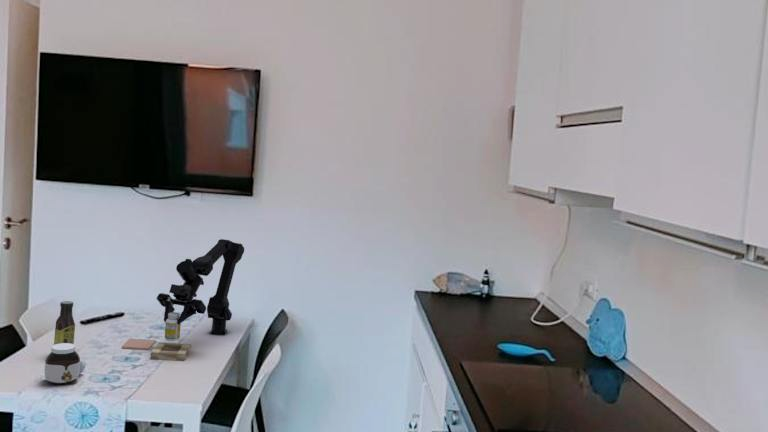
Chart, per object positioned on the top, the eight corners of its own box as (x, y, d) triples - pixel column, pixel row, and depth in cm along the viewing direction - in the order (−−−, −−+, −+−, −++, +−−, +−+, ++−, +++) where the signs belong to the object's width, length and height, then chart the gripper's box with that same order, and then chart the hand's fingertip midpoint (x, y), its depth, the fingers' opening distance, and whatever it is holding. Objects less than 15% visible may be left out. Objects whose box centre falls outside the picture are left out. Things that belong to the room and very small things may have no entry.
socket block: (158, 348, 240) (158, 342, 240) (190, 350, 242) (190, 344, 241) (150, 359, 228) (150, 352, 228) (184, 360, 230) (184, 354, 230)
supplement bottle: (169, 341, 231) (171, 316, 230) (161, 338, 234) (163, 313, 233) (182, 339, 235) (184, 314, 234) (174, 335, 238) (176, 311, 237)
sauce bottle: (64, 361, 218) (67, 305, 216) (49, 358, 219) (51, 303, 217) (77, 355, 224) (80, 301, 222) (62, 353, 226) (64, 299, 224)
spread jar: (43, 387, 195) (45, 351, 194) (44, 374, 205) (46, 340, 204) (86, 384, 201) (88, 349, 200) (84, 371, 211) (86, 338, 210)
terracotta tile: (129, 340, 246) (129, 338, 246) (155, 342, 247) (155, 340, 247) (121, 348, 236) (121, 346, 236) (149, 350, 237) (149, 348, 237)
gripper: (160, 272, 238) (140, 306, 229) (203, 279, 233) (184, 315, 224) (172, 288, 247) (152, 322, 237) (214, 296, 242) (196, 331, 232)
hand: (171, 322), depth 232 cm, fingers closed on supplement bottle, 5 cm apart
